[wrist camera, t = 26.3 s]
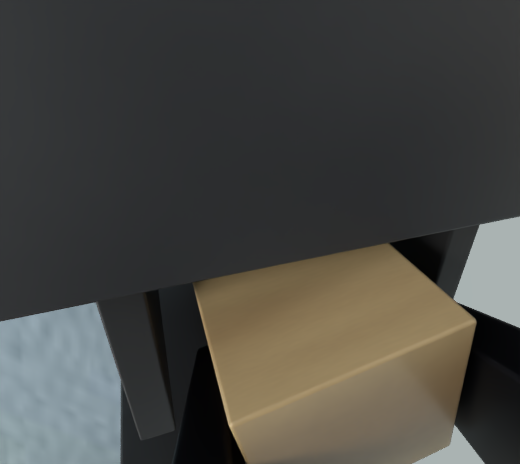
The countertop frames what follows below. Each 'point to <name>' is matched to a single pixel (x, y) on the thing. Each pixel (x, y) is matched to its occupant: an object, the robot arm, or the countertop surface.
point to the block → (337, 358)
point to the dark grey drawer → (193, 337)
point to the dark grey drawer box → (243, 136)
